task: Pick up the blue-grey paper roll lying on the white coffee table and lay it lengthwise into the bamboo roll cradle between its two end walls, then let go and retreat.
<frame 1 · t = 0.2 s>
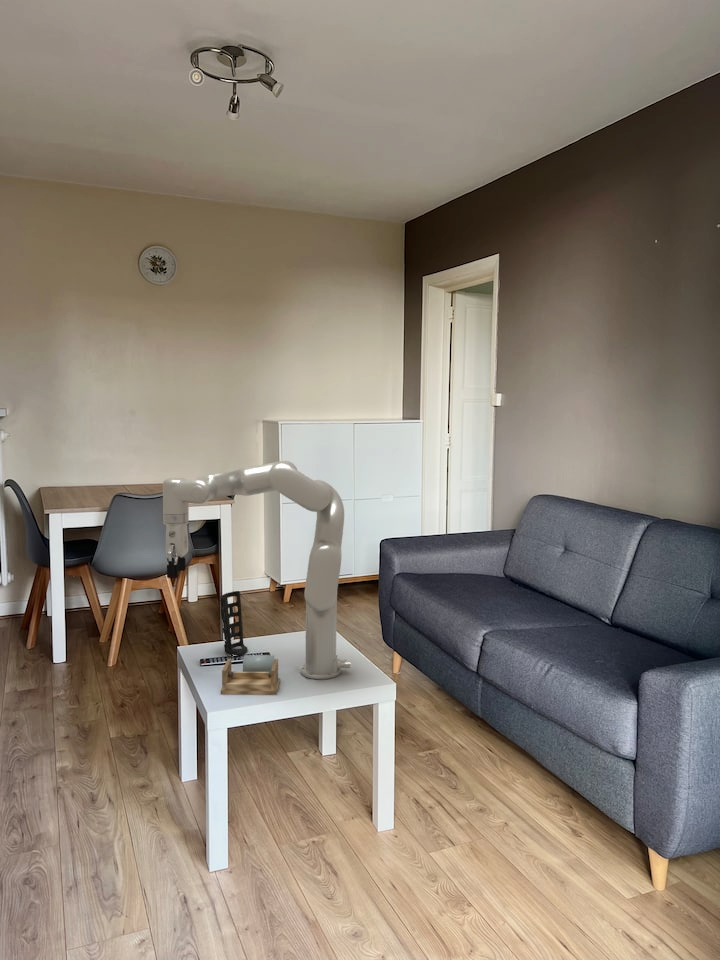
hand: (176, 574, 222), 31 cm above the table, fingers open, 9 cm apart
holder: (233, 652, 243), on the table
cradle: (250, 687, 212), on the table
roll: (258, 674, 223), on the table
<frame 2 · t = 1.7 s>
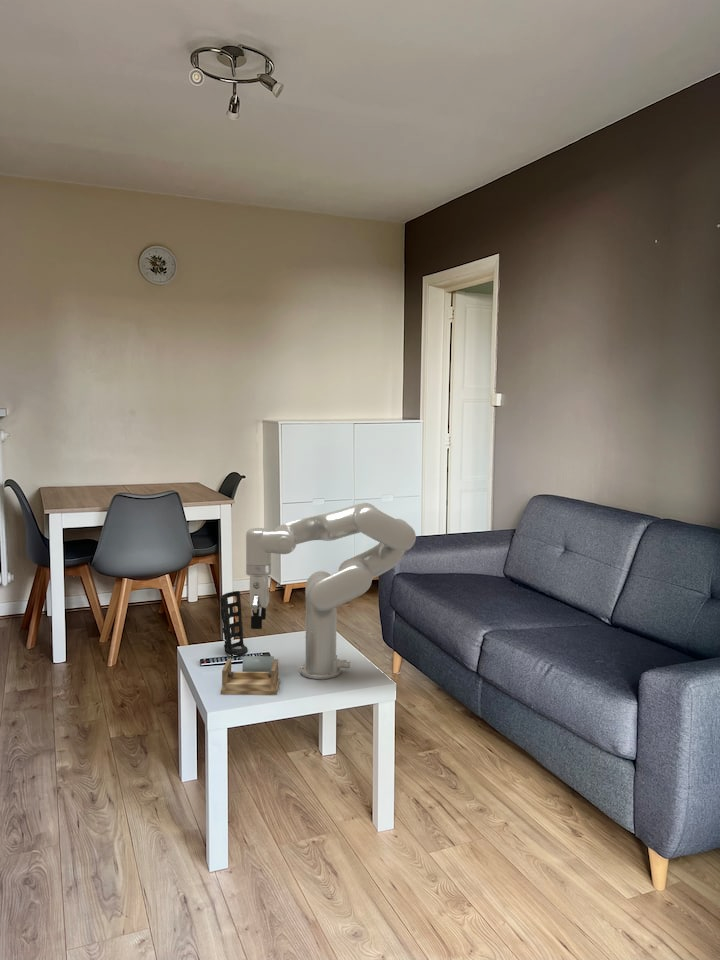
hand: (258, 623, 222), 16 cm above the table, fingers open, 9 cm apart
roll: (258, 674, 223), on the table, tilted 19°
everything else where it was.
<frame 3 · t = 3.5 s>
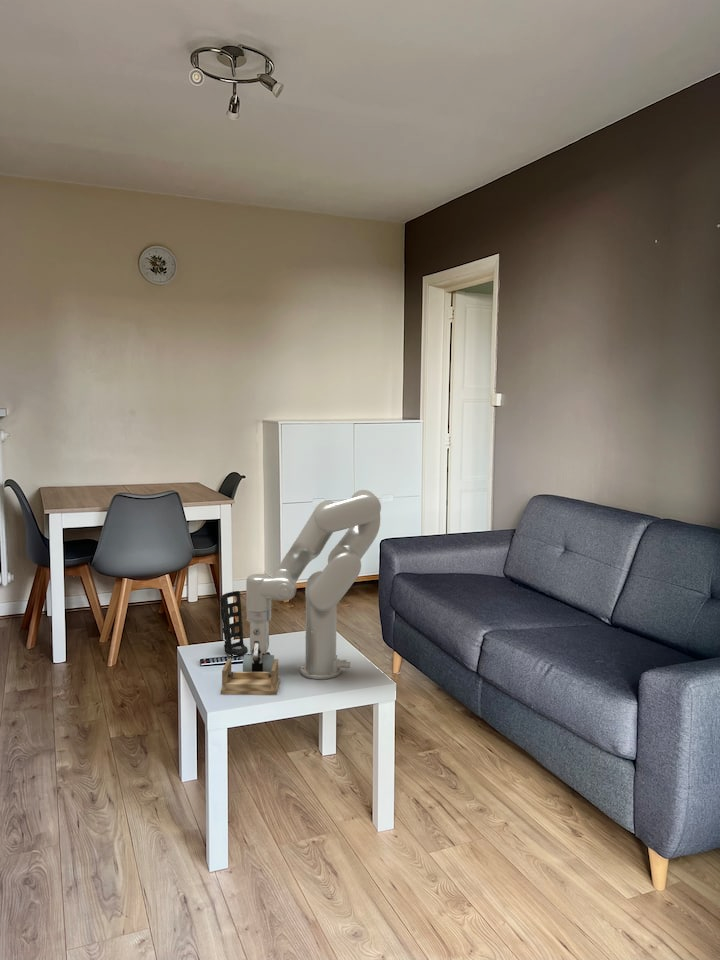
hand: (258, 671, 223), 1 cm above the table, fingers closed on roll, 6 cm apart
roll: (258, 674, 223), on the table, touching gripper
everything else where it was.
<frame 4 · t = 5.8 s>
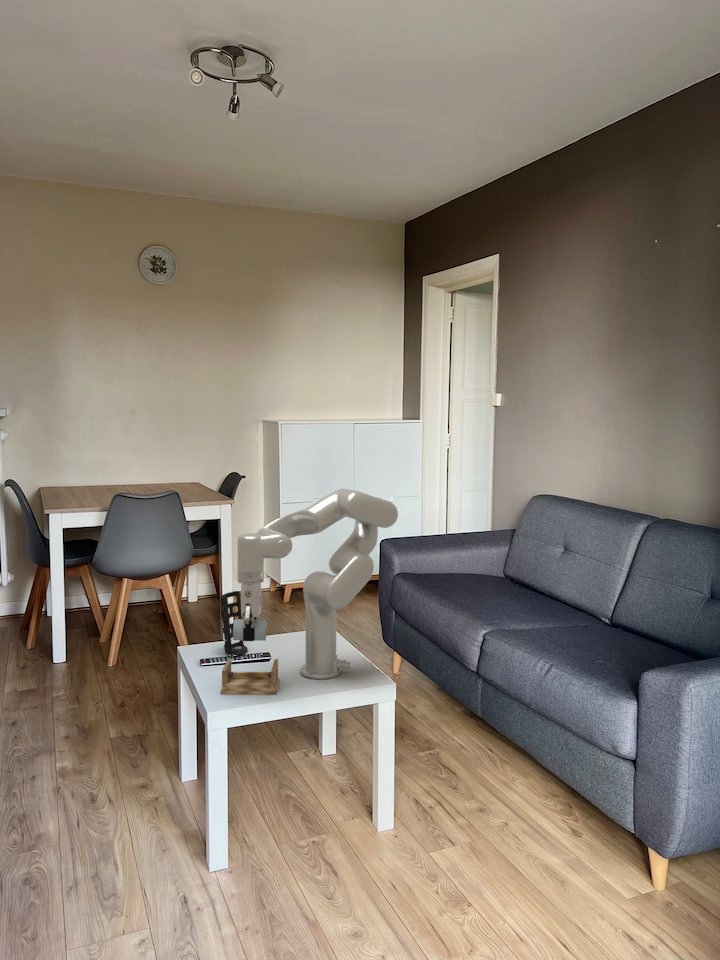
hand: (250, 636, 211), 15 cm above the table, fingers closed on roll, 5 cm apart
roll: (250, 639, 211), point 14 cm above the table, touching gripper
everything else where it was.
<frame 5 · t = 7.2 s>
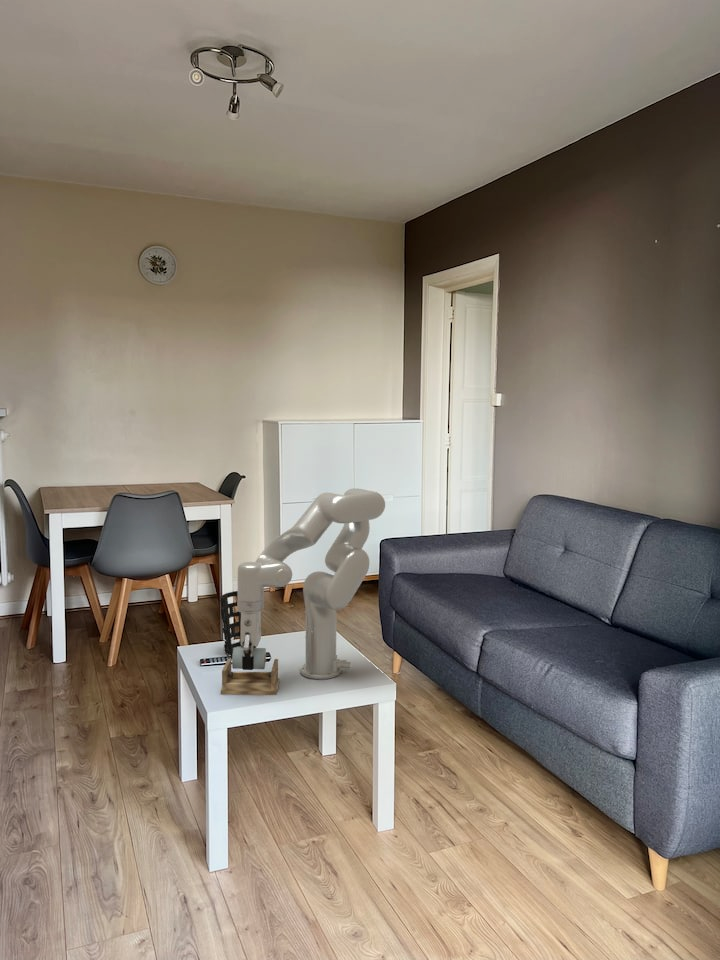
hand: (249, 664, 211), 7 cm above the table, fingers closed on roll, 5 cm apart
roll: (249, 668, 211), point 6 cm above the table, touching gripper
everything else where it was.
when the fingers open (5 cm above the table, at t = 8.2 s): roll drops 3 cm, resting on cradle.
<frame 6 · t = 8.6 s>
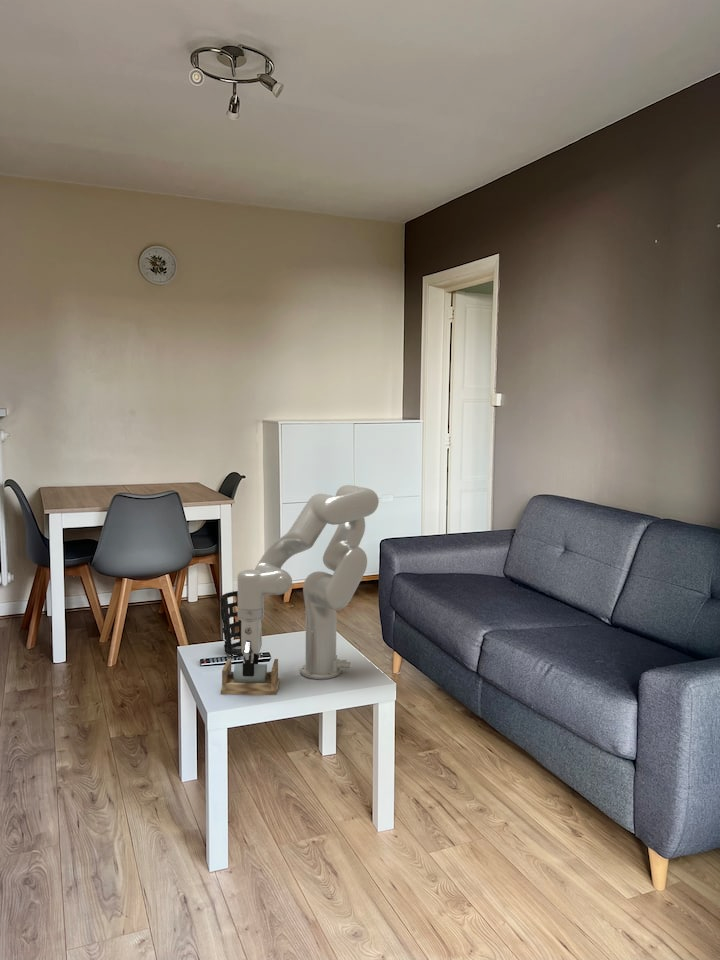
hand: (250, 669, 212), 5 cm above the table, fingers open, 9 cm apart
roll: (250, 684, 212), point 1 cm above the table, touching cradle
everything else where it was.
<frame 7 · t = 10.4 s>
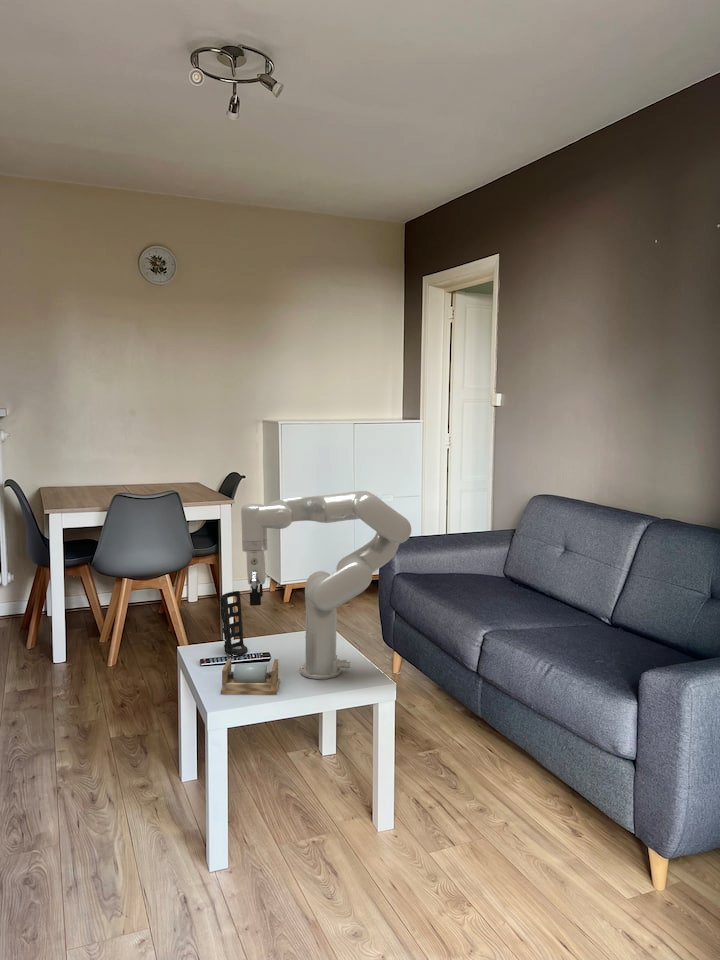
hand: (256, 600, 219), 24 cm above the table, fingers open, 9 cm apart
nothing on the table moved.
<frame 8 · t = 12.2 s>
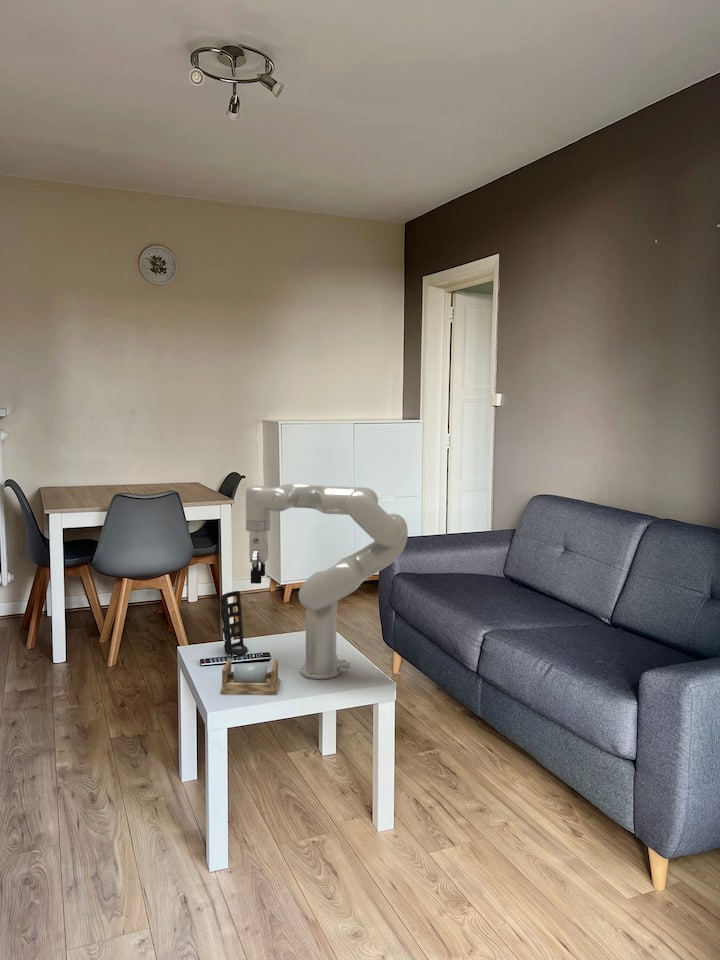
hand: (258, 579, 226), 28 cm above the table, fingers open, 9 cm apart
nothing on the table moved.
at the end: roll 0.1 cm off-centre on the cradle, point 1.0 cm above the cradle's base; the gripper is holding nothing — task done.
